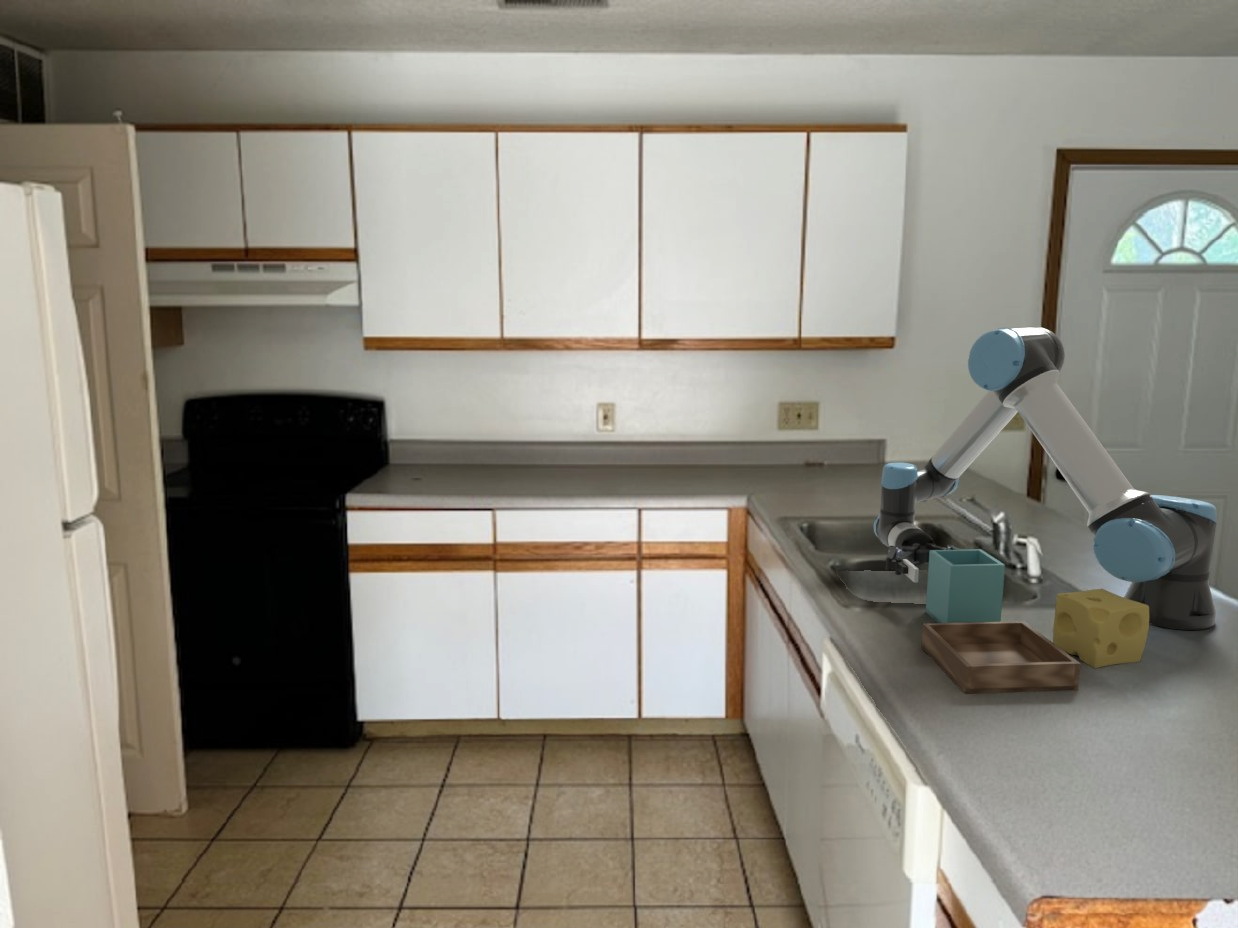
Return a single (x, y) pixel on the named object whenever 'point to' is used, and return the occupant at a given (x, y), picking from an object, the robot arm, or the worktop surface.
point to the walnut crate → (999, 657)
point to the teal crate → (964, 586)
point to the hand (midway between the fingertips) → (951, 575)
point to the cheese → (1100, 627)
